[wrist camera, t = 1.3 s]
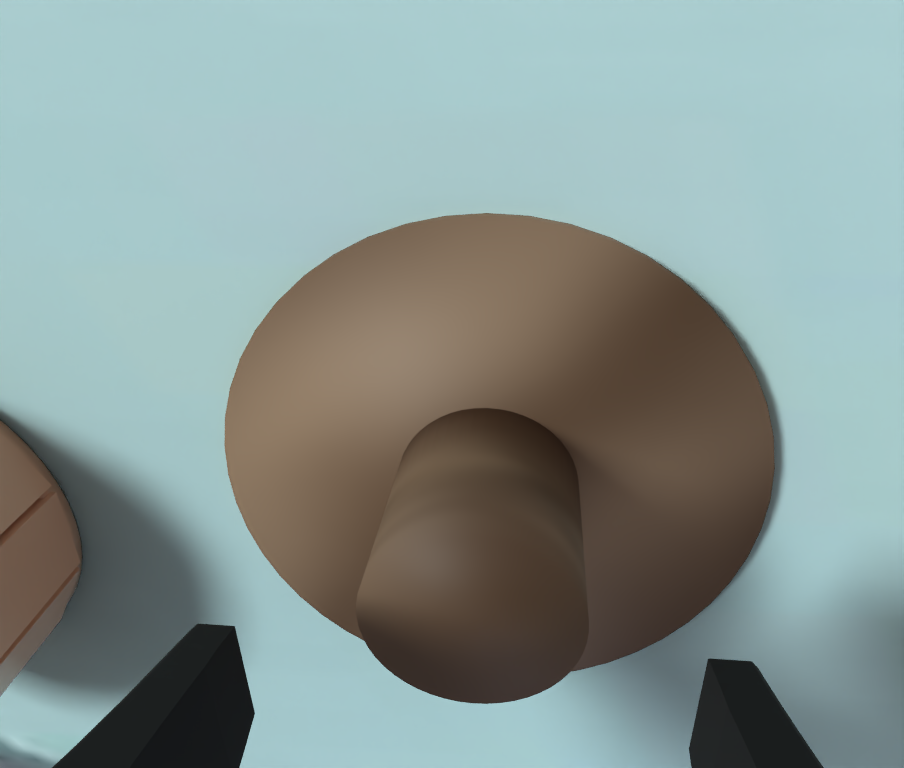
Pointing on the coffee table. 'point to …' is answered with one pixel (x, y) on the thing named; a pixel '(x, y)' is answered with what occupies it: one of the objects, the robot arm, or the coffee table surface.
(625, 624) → the walnut lid
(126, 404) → the coffee table surface
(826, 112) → the coffee table surface
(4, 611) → the terracotta bowl
